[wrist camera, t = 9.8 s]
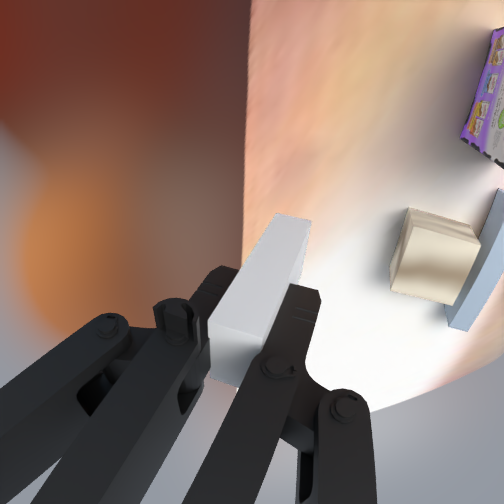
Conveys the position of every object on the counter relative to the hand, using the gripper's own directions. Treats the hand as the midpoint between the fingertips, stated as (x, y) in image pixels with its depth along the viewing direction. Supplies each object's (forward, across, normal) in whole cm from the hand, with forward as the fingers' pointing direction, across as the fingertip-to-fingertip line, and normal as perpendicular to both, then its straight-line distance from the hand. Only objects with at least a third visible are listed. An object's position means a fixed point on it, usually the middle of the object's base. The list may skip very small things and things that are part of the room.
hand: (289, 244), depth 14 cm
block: (+22, +13, -10) cm, 27 cm away
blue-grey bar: (+22, +20, -9) cm, 31 cm away
